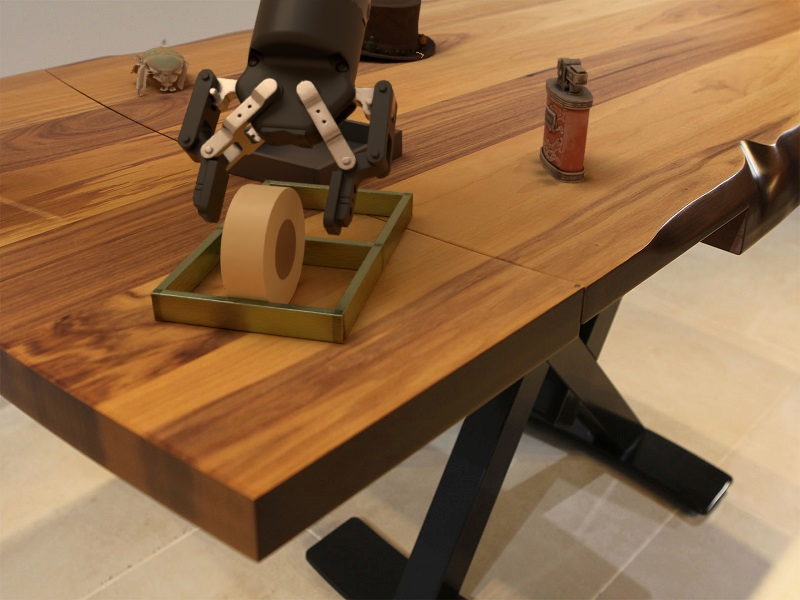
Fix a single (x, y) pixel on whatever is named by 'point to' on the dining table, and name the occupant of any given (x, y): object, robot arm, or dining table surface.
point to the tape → (263, 244)
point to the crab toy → (160, 68)
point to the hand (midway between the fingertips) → (268, 224)
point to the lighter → (566, 122)
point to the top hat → (395, 31)
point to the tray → (305, 158)
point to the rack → (295, 320)
